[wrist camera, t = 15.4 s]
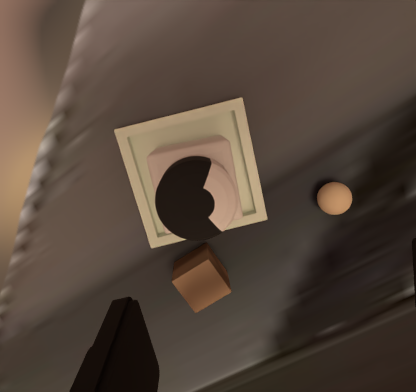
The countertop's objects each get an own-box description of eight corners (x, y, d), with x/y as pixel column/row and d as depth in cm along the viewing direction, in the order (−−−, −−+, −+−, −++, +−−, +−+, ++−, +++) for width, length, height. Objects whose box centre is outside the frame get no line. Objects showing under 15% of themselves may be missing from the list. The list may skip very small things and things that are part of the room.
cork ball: (309, 183, 35) (322, 190, 32) (340, 175, 35) (356, 182, 32) (314, 212, 36) (327, 222, 33) (344, 205, 36) (360, 214, 33)
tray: (117, 128, 33) (113, 129, 31) (239, 98, 33) (242, 97, 31) (153, 241, 36) (151, 248, 34) (263, 214, 36) (267, 219, 34)
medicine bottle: (170, 211, 35) (158, 260, 23) (154, 147, 33) (134, 165, 21) (233, 198, 35) (254, 240, 23) (221, 134, 33) (238, 143, 21)
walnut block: (174, 262, 37) (171, 281, 33) (206, 242, 36) (208, 259, 32) (195, 290, 38) (195, 313, 34) (226, 271, 37) (231, 291, 33)
